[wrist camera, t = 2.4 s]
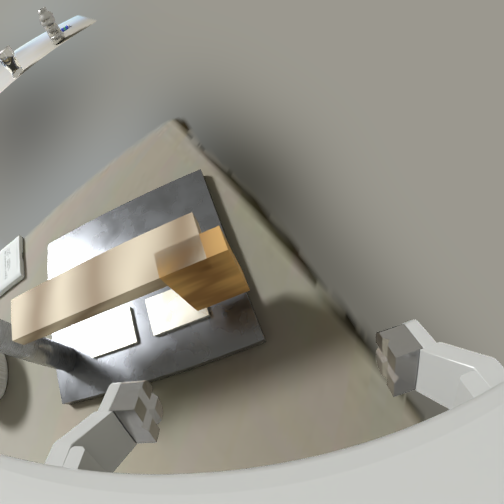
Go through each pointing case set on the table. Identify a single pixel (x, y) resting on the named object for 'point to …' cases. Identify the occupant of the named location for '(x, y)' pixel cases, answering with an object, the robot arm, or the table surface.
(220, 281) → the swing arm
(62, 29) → the eraser
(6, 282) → the external hard drive
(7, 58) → the beer glass
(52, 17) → the plastic bottle
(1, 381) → the ramekin
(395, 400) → the table surface
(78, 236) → the base plate
